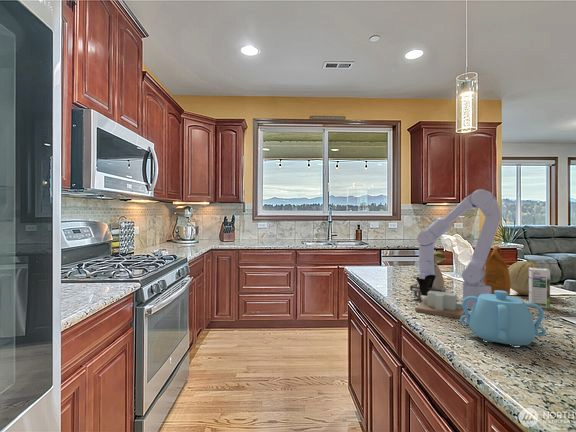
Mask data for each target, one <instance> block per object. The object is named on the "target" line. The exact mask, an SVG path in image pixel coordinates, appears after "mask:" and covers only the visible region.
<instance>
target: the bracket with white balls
mask: <svg viewBox="0 0 576 432" xmlns="http://www.w3.org/2000/svg"><path fill="white" fill-rule="evenodd" d="M409 288H410V291H411V292H413V295H414V296H415V297H416V296H417V298H418V299H417V300H421V299H422V297H421V296H422V295H421V291H420V287H419V285H418V283H413V284H412V285H410V287H409ZM445 288H446V286H444V287H442V288H441V289H436V288H429V290H428V292H429V291H430V290H431V291H438V292H445Z"/></svg>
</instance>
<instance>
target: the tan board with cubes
mask: <svg viewBox="0 0 576 432" xmlns="http://www.w3.org/2000/svg"><path fill="white" fill-rule="evenodd" d="M414 312H419V313H425V314H429V315H437V316H441V317H448V318H449V317H450V318H453V317H454V318H455V319H459V318H461V316H463V315H464V314H465V312H464V310H463V306H462V302H461V301H460V302H458V301H457V293H453V292H451V293H446V292H438V291H431V290H430V291H429V292H427V296H424V298H423V300H422V301H421V302H420V303H419V304H418V305H416V306H415V307H414Z"/></svg>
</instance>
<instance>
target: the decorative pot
mask: <svg viewBox="0 0 576 432" xmlns="http://www.w3.org/2000/svg"><path fill="white" fill-rule="evenodd" d="M494 293H495V294H481V295H479V297H478V298H477V297H475V296H468V297H466V298H464V299H463V298H462V302H461V303H462V306H463V310H464V312H465V315H463V316H461V318H460V319H459V320H460V322H461V323H462V324H463V325H465V326H469V328H470V330H471V331H472V333H473V334H474V335H475V336H476V337H478V338H479V339H481V340H482V339H483V340H484V341H487V342H486V343H488V342H492V343H493V342H494V343H499V344H504V345H509V344H511V345H513V346H521V347H522V346H528V345H530V344H531V343H532V342H533V341H534V339H535V337H544V336H545V335H546V334H547V333H546V332H547V330H546V329H545V327H543V326H540V325H541V323H542V321H543V320H544V315H545V312H544V308H541V307H540V306H539V305H537V304H535V303H529V302H525V301H524V300H523V299H522V298H520V297H517V296H512V295H510V296H507V294H508V292H506V291H501V290H495V291H494ZM467 300H476V302H475V303H474V305H473V307H472V310H471V309H470V312H469V309H467V306H466V301H467ZM529 307H532V308H534V309H536V310H537V311H538V316H537V319H536V321H534V319H533V316H532V313H531V311H530V309H529ZM465 319H466V320H465ZM538 330H541V332H539V331H538ZM484 341H483V342H484Z"/></svg>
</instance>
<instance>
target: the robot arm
mask: <svg viewBox="0 0 576 432" xmlns="http://www.w3.org/2000/svg"><path fill="white" fill-rule="evenodd" d="M473 209H479V210H480V211H481V213H482V214H483V215H484V217H485V218H484V221H483V224H482V227H481V230H480V233H479V235H478V238H477V241H476V243H475V248H474V250H473V253H472V256H471V258H470V260H469V262H468V264H467V267H466V268H465V269H463V271H462V272H461V278H462V280H463V281H462V300H463V299H464V298H466V297H468V296H475V297H477V298H478V297H479V295H481V294H492V290H491V286H486V285H485V283H484V282H483V280H482V279H483V278H484V277H485V267H486V264H487V261H488V257H489V254H490V251H491V249H492V247H493V246H492V245H493V243H494V241H495V238H496V234H497V232H498V228H499V225H500V223H501V220H502V218H503V213H502V211H501V208H500V205H499V202H498V199H497V197H496V196H495V195H494V194H493V193H492V192H491V191H489V190H486V189H482V188H479V189H476V190H474V191H473V192H471V194H469V195H467V196H466V197H465V198H464V199H462V200H461V201H460V203H458V204H457V205H456V206H455V207H454V208H452V209H451V210H450V212H449V213H448V214H446V215H445V216H444V217H438V218H434V220H433V222H432V223H431V224H430V225H429V226H426V227H425V228H424V230H422V231H419V233H418V234H417V237H416V239H417V242H418V245H419V246H418V269H416V270H415V273H418V276H416V278H415V279H416V282H417V285H418V286H419V287H420V291H421V296H424V297H427V292H428V290H429V288H432V285H433V282H434V280H435V278H436V275H433V274H435V272H434V251H435V243H436V241H437V239H439V238H441V236H443V235H444V234H445V233H446V232H447V231H449V229H451V224H452V223H453V222H454V221H455V220H457V219H458V218H459V217H460V216H462V215H463V214H464V213H466V212H467V211H469V210H473ZM475 302H476V300H467V301H466V306H467V310H470V311H471V310H472V307H473V305H474V303H475Z"/></svg>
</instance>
